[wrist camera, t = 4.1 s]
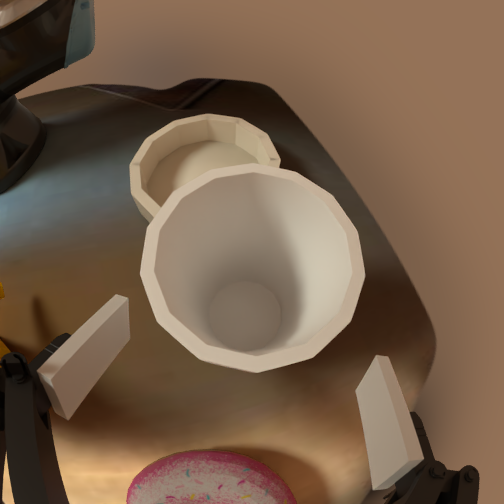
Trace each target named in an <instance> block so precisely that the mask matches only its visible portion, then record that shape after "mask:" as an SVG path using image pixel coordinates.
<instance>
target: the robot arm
mask: <svg viewBox="0 0 504 504" xmlns="http://www.w3.org/2000/svg"><path fill="white" fill-rule="evenodd" d="M94 45H95V19H94V0H0V193H1V192H3V191H5V190H6V189H8V188H9V187H10V186H11V185H13V184H14V183H15V182H16V181H17V180H18V179H19V178H20V177H21V176H22V175H23V174H24V173H25V172H26V171H27V170H28V168H29V167H30V166H31V165H32V163H33V162H34V161H35V159H36V158H37V156H38V155H39V153H40V151H41V149H42V147H43V145H44V143H45V140H46V129H45V128H44V126H43V124H42V122H41V120H40V119H39V118H38V117H36V116H35V115H34V114H33V113H31V112H30V111H29V110H28V109H27V108H25V107H24V106H23V105H22V104H20V103H19V101H18V100H17V98H16V96H15V94H16V93H18V92H19V91H21V90H22V89H24V88H26V87H28V86H29V85H31V84H33V83H35V82H37V81H38V80H40V79H42V78H44V77H46V76H48V75H50V74H52V73H54V72H56V71H58V70H60V69H62V68H67V67H68V66H69V65H70V64H72V63H74V62H76V61H78V60H80V59H83V58H85V57H86V56H88V55H89V54H90V53H91V52H92V50H93V48H94ZM129 339H130V330H129V305H128V298H126V297H123V296H120V295H117V294H116V295H115V296H114V297H113V298H111V299H110V300H109V301H108V302H107V303H106V304H105V305H104V306H103V307H102V308H101V309H99V310H98V311H97V312H96V313H95V314H94V315H93V316H92V317H91V318H90V319H89V320H88V321H87V322H86V323H84V324H83V325H82V326H81V327H80V328H79V329H78V330H77V331H76V332H75V333H74V334H73V335H70V334H68V333H64V334H62V335H60V336H58V337H56V338H55V339H54V340H53V341H52V342H51V344H49V345H48V346H47V347H46V348H45V349H44V350H43V351H42V352H41V353H40V354H39V355H37V356H36V357H35V358H34V359H33V360H32V361H31V362H30V363H29V364H27V361H26V358H25V357H24V356H23V354H21V353H19V352H10V353H7V354H5V355H4V356H3V357H2V358H1V360H0V366H1V367H0V504H2V489H3V474H4V464H5V456H6V451H7V461H8V469H9V476H10V482H11V488H12V493H13V498H14V502H15V504H69V501H68V498H67V495H66V492H65V488H64V485H63V481H62V478H61V474H60V470H59V465H58V461H57V456H56V452H55V446H54V441H53V435H52V429H51V422H50V414H49V411H48V409H49V408H50V406H51V405H52V407H53V409H54V411H55V413H57V414H58V415H60V416H61V417H63V418H65V419H66V420H69V419H70V418H71V416H72V415H73V413H74V412H75V411H76V409H77V408H78V407H79V405H80V404H81V402H82V401H83V400H84V398H85V397H86V396H87V394H88V393H89V392H90V390H91V389H92V388H93V386H94V385H95V384H96V382H97V381H98V380H99V378H100V377H101V376H102V374H103V373H104V372H105V370H106V369H107V368H108V366H109V365H110V364H111V363H112V361H113V360H114V359H115V357H116V356H117V355H118V353H119V352H120V351H121V350H122V348H123V347H124V346H125V345H126V343H127V342H128V341H129ZM355 391H356V395H357V400H358V405H359V410H360V415H361V420H362V425H363V431H364V436H365V442H366V448H367V454H368V460H369V466H370V473H371V480H372V488H373V490H379V489H388V488H389V487H390V486H391V485H393V484H394V483H395V486H396V489H394V490H393V491H392V492H390V493H389V494H388V495H386V496H385V497H384V498H383V499H385V498H387V497H388V499H387V500H386V502H385V503H384V504H477V501H478V490H479V473H478V471H477V469H476V468H475V467H473V466H471V465H467V466H465V467H463V468H462V469H461V470H460V471H453V470H447V469H446V467H445V465H444V464H442V463H441V462H439V461H435V459H434V456H433V453H432V450H431V447H430V444H429V441H428V438H427V436H426V432H425V430H424V426H423V423H422V421H421V419H420V417H419V416H418V415H417V414H416V413H415V412H409V410H408V407H407V404H406V402H405V399H404V396H403V393H402V391H401V388H400V385H399V383H398V380H397V378H396V375H395V373H394V370H393V367H392V365H391V362H390V360H389V358H388V356H380V355H376V356H375V358H374V360H373V361H372V363H371V365H370V367H369V368H368V370H367V372H366V374H365V375H364V377H363V379H362V381H361V382H360V384H359V386H358V387H357V389H356V390H355Z"/></svg>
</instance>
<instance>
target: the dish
mask: <svg viewBox="0 0 504 504" xmlns="http://www.w3.org/2000/svg"><path fill="white" fill-rule="evenodd" d="M280 161H281V159H280V157H279V155H278V153H277V151H276V149H275V147H274V146H273V144H272V142H271V140H270V138H269V136H268V134H266V133H265V132H263V131H261V130H260V129H258V128H257V127H255V126H253V125H252V124H250V123H248V122H246V121H245V120H243V119H241V118H236V117H229V116H222V115H215V114H203V115H198V116H193V117H188V118H184V119H179V120H175V121H173V122H171V123H169V124H168V125H166V126H165V127H163V128H161V129H160V130H158V131H157V132H155V133H154V134H152V135H151V136H149V137H148V138H146V139H145V141H144V142H143V144H142V145H141V147H140V149H139V150H138V152H137V153H136V155H135V157H134V158H133V160H132V162H131V163H130V182H131V194H132V196H133V198H134V200H135V202H136V204H137V207H138V209H139V211H140V212H141V214H142V215H143V216H144V217H145V218H146V219H147V220H148V222H149V224H150V223H151V222H152V220H153V219H154V217H155V216H156V214H157V213H158V212H159V210H160V209H161V207H162V206H163V205H164V203H165V202H166V200H167V199H168V198H169V196H170V195H171V194H172V192H173V191H175V190H177V189H178V188H180V187H181V186H183V185H185V184H187V183H188V182H190V181H192V180H193V179H195V178H197V177H198V176H200V175H202V174H204V173H205V172H207V171H209V170H211V169H217V168H223V167H229V166H236V165H243V164H250V163H256V164H261V165H266V166H271V167H276V168H279V166H280Z"/></svg>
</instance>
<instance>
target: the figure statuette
mask: <svg viewBox="0 0 504 504" xmlns="http://www.w3.org/2000/svg"><path fill="white" fill-rule="evenodd" d="M4 297H5V296H4V291H3V286H2V284H1V282H0V299H2V298H4ZM10 352H11V351H10V350H9V349H8V348H7V347H6V346H5V344H4V343H3V342H2V341H1V339H0V360H1V358H2V357H3V356H4V355H5V354H7V353H10ZM0 367H1V366H0Z"/></svg>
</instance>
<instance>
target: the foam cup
mask: <svg viewBox="0 0 504 504" xmlns="http://www.w3.org/2000/svg"><path fill="white" fill-rule="evenodd" d="M140 275H141V278H142V281H143V284H144V287H145V290H146V293H147V296H148V299H149V301H150V304H151V307H152V310H153V312H154V315H155V318H156V320H157V322H158V323H159V324H160V325H161V326H162V327H163V328H164V329H165V330H166V331H168V332H169V333H170V334H171V335H172V336H173V337H174V338H175V339H176V340H178V341H179V342H180V343H181V344H182V345H183V346H184V347H186V348H187V349H188V350H189V351H190V352H191V353H193V354H194V355H195V356H196V357H197V358H199V359H200V360H203V361H205V362H208V363H212V364H216V365H220V366H224V367H228V368H233V369H237V370H242V371H246V372H251V373H258V372H262V371H266V370H270V369H274V368H278V367H282V366H286V365H289V364H293V363H297V362H300V361H304V360H307V359H310V358H313V357H314V356H315V355H316V354H317V353H319V352H320V351H321V350H322V349H323V348H324V347H325V346H326V345H327V344H328V343H329V342H330V341H331V340H332V339H333V338H334V337H336V336H337V335H338V334H339V333H340V332H341V331H342V330H343V329H344V328H345V327H346V326H347V325H348V324H349V323H350V322H351V320H352V317H353V314H354V311H355V308H356V304H357V301H358V298H359V295H360V292H361V288H362V285H363V282H364V278H365V270H364V264H363V258H362V253H361V247H360V242H359V236H358V231H357V230H356V228H355V227H354V225H353V224H352V222H351V221H350V219H349V218H348V217H347V215H346V214H345V212H344V211H343V209H342V208H341V207H340V205H339V204H338V202H337V201H336V200H335V198H334V197H333V195H331V194H330V193H328V192H327V191H325V190H324V189H322V188H320V187H319V186H317V185H316V184H314V183H313V182H311V181H310V180H308V179H306V178H305V177H303V176H302V175H300V174H298V173H297V172H294V171H290V170H285V169H280V168H276V167H271V166H266V165H261V164H256V163H250V164H243V165H236V166H229V167H223V168H217V169H211V170H209V171H207V172H205V173H204V174H202V175H200V176H198V177H197V178H195V179H193V180H192V181H190V182H188V183H187V184H185V185H183V186H181V187H180V188H178V189H177V190H175V191H173V192H172V194H171V195H170V196H169V198H168V199H167V200H166V202H165V203H164V205H163V206H162V207H161V209H160V210H159V212H158V213H157V214H156V216H155V217H154V219H153V220H152V222H151V223H150V224H149V226H148V227H147V232H146V238H145V244H144V250H143V256H142V263H141V270H140Z"/></svg>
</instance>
